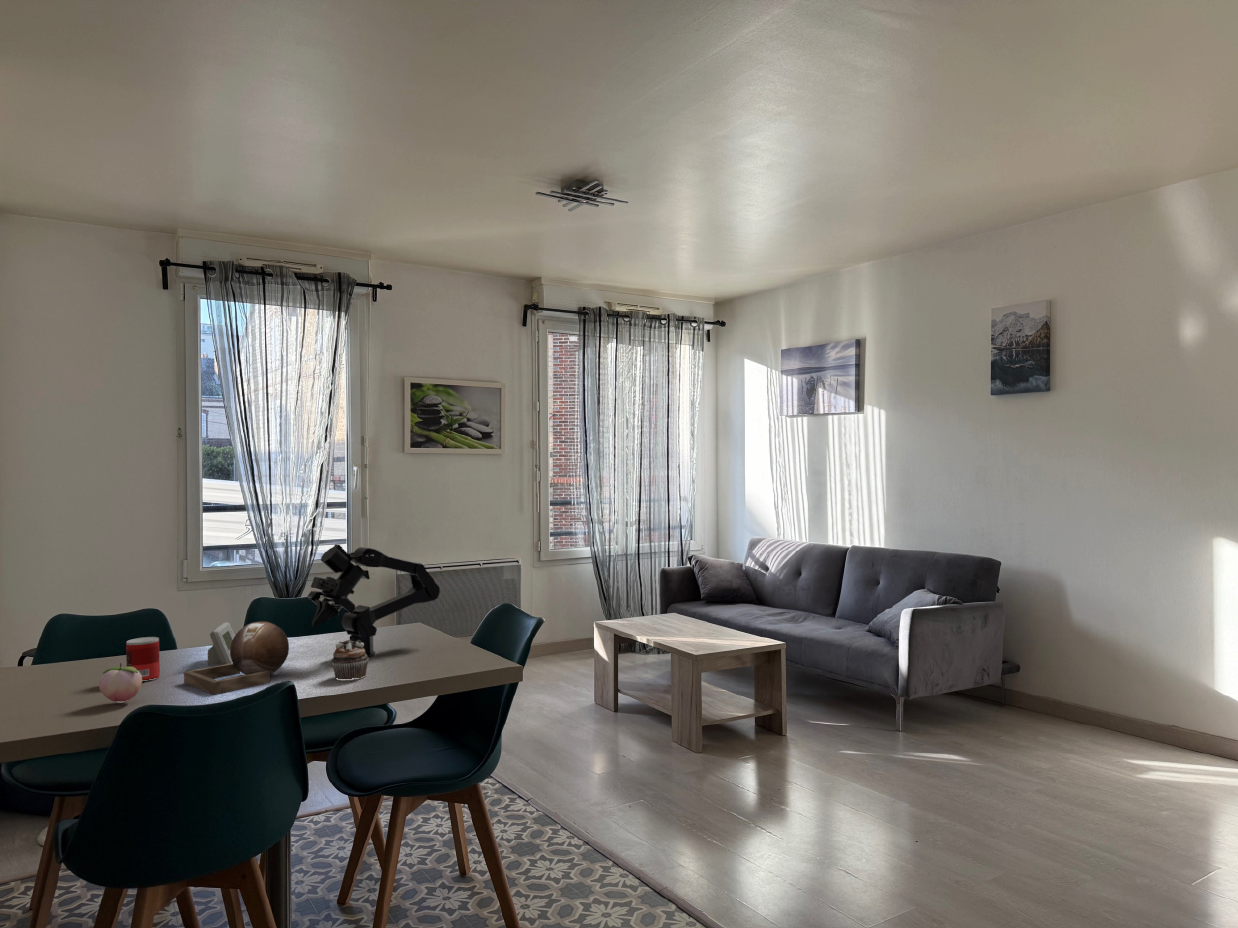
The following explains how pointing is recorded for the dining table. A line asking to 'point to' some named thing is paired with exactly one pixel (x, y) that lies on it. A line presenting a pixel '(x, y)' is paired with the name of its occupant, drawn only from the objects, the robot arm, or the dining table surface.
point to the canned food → (144, 656)
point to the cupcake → (350, 660)
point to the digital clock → (221, 645)
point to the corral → (207, 683)
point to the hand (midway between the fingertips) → (313, 625)
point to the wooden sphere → (259, 648)
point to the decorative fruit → (120, 683)
